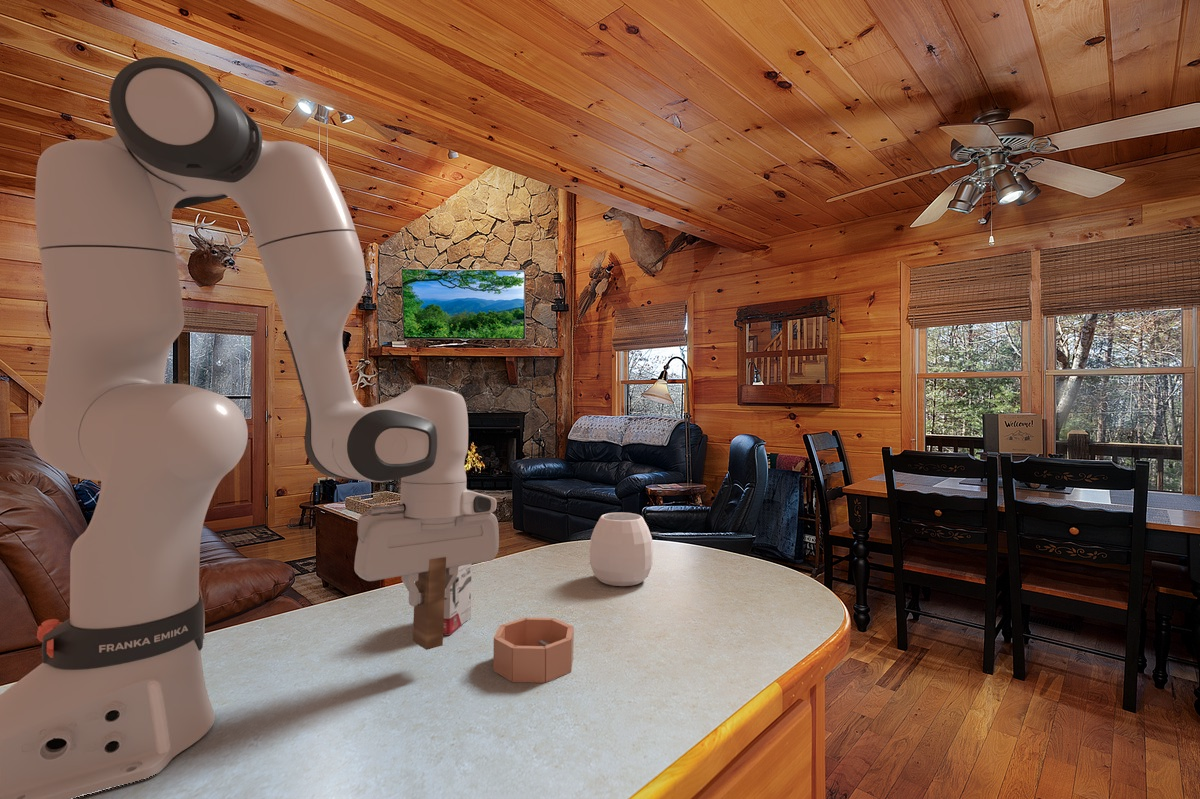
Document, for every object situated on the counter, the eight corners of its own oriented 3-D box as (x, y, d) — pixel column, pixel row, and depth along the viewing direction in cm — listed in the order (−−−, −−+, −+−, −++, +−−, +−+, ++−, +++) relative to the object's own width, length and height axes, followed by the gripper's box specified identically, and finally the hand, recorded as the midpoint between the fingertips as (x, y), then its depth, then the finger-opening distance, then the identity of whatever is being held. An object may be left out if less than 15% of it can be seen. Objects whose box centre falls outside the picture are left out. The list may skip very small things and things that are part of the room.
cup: (655, 592, 113) (656, 523, 113) (588, 591, 113) (588, 522, 113) (650, 571, 126) (650, 510, 126) (590, 571, 127) (590, 509, 127)
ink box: (450, 636, 91) (450, 562, 91) (421, 634, 92) (422, 560, 92) (472, 616, 100) (473, 548, 100) (446, 614, 101) (447, 546, 101)
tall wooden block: (426, 649, 78) (430, 559, 78) (412, 641, 80) (416, 554, 81) (442, 645, 79) (446, 557, 80) (428, 637, 82) (431, 552, 83)
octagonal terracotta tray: (526, 690, 74) (526, 655, 74) (481, 662, 82) (481, 631, 82) (588, 664, 82) (588, 633, 82) (541, 641, 90) (541, 612, 90)
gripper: (368, 510, 71) (363, 624, 70) (506, 499, 85) (502, 593, 85) (348, 504, 76) (343, 611, 75) (482, 494, 90) (479, 584, 89)
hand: (429, 602), depth 80 cm, fingers closed on tall wooden block, 2 cm apart
